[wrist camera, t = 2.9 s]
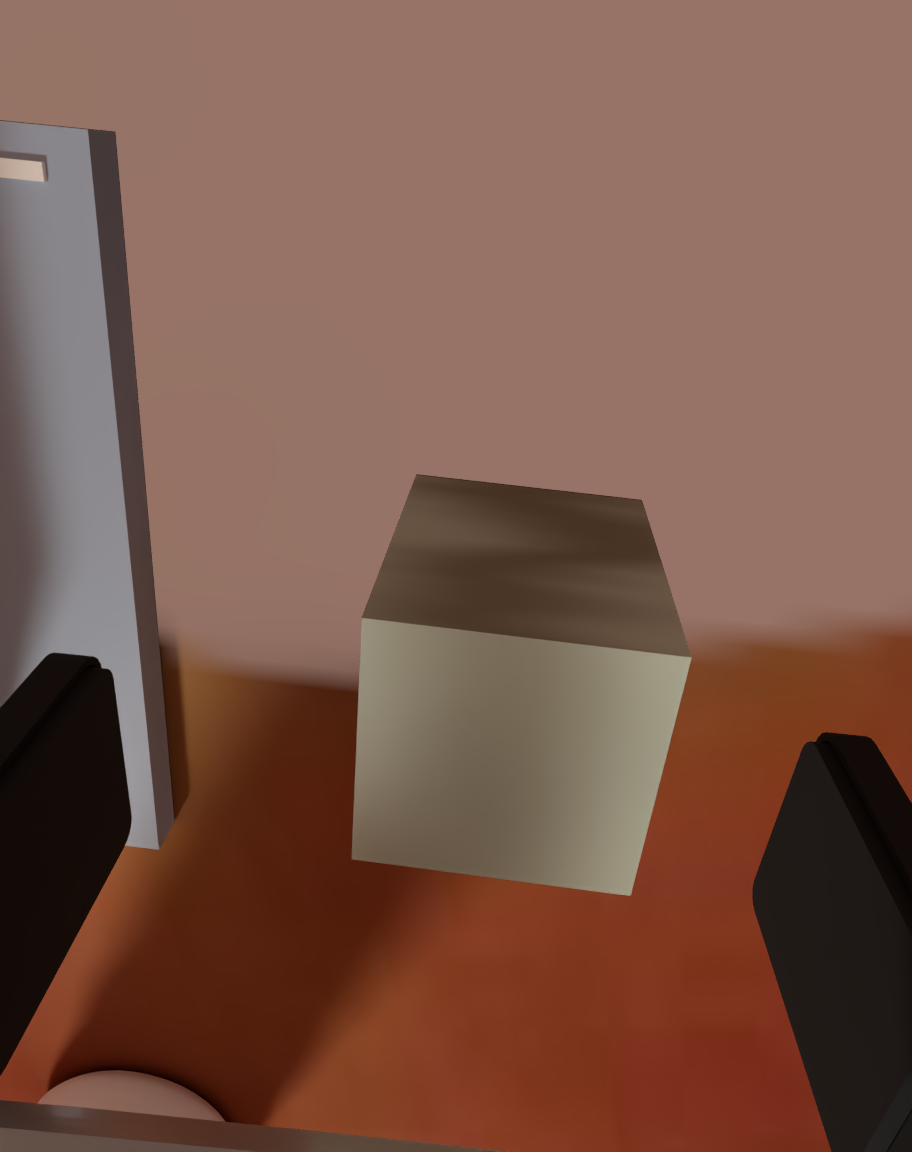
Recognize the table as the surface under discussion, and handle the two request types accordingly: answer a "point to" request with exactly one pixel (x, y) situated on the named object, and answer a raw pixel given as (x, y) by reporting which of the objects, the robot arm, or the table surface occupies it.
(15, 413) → the board
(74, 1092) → the water bottle
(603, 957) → the table surface
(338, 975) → the table surface
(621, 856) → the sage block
